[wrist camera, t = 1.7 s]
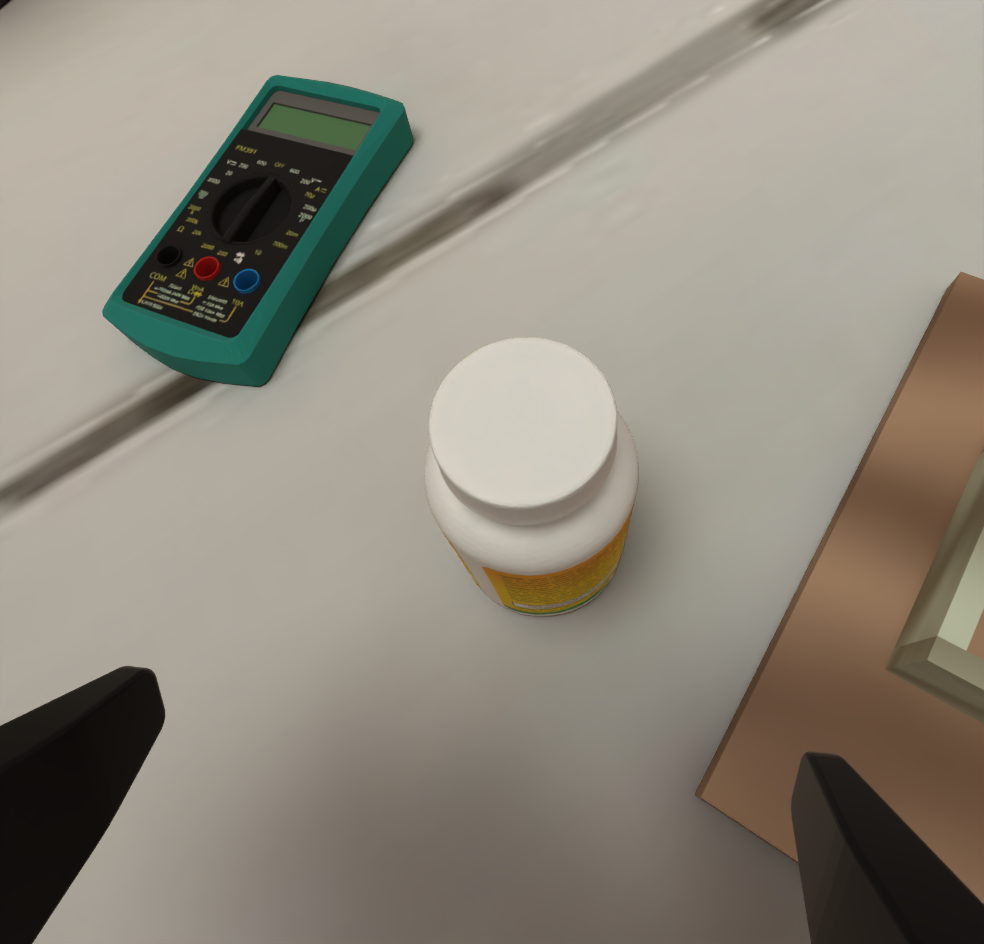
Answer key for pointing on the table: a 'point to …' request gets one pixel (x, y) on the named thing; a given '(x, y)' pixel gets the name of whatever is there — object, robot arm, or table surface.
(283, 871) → the table surface
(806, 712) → the bottle holder
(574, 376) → the supplement bottle
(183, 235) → the digital multimeter
